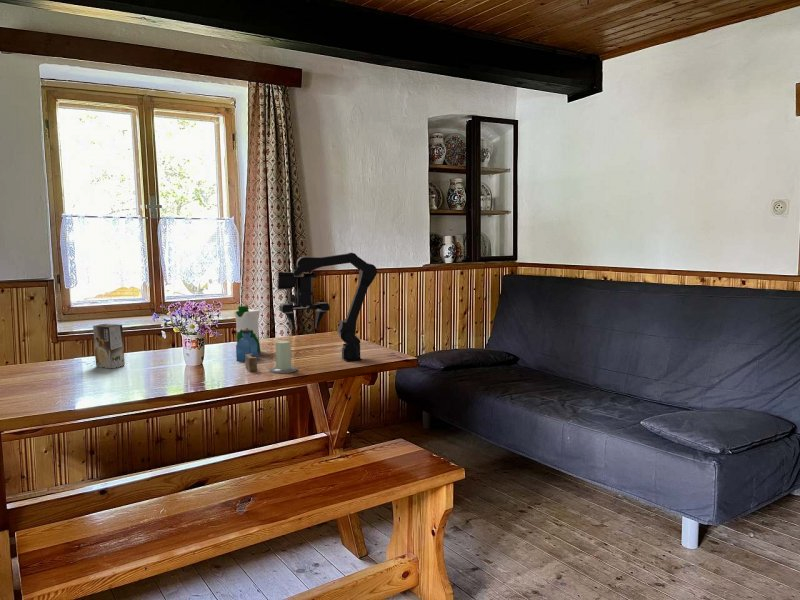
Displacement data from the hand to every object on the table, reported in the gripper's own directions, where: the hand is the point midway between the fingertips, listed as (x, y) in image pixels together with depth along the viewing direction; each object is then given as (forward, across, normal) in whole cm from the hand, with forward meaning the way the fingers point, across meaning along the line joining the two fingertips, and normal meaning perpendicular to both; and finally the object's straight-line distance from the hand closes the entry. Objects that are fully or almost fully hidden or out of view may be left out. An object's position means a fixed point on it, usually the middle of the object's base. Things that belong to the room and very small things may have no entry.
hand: (304, 329), depth 238 cm
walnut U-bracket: (+14, +21, +2) cm, 25 cm away
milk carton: (+14, +16, -30) cm, 36 cm away
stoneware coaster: (+13, +11, +10) cm, 20 cm away
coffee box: (+15, +69, -27) cm, 75 cm away
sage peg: (+13, +11, +10) cm, 19 cm away
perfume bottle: (+14, +19, -16) cm, 28 cm away
